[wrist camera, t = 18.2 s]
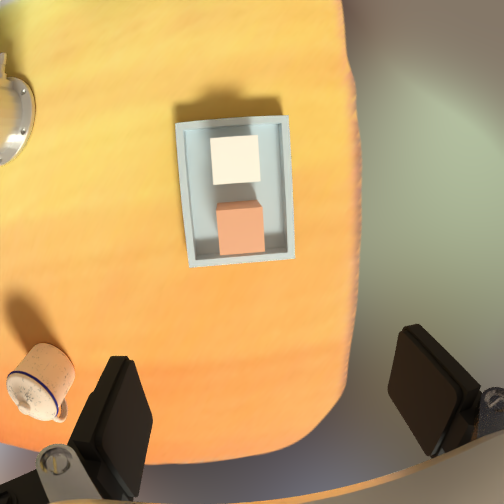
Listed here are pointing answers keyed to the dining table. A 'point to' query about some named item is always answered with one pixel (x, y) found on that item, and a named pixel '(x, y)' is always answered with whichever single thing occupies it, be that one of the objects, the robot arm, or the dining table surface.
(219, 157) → the white block
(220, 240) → the terracotta block
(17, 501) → the robot arm
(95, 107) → the dining table surface
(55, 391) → the teacup with lid
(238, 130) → the tray
